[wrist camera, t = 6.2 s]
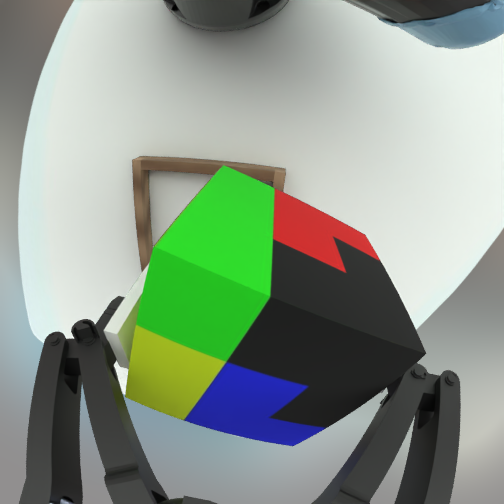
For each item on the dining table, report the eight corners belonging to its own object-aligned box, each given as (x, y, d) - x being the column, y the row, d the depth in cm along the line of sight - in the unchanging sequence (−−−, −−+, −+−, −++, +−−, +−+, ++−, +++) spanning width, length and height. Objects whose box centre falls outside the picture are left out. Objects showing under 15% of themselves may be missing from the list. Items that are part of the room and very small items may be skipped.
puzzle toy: (292, 332, 22) (292, 446, 13) (176, 286, 20) (125, 396, 12) (365, 234, 17) (426, 353, 8) (223, 165, 15) (153, 246, 7)
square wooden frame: (140, 156, 31) (132, 160, 29) (285, 168, 31) (285, 173, 29) (148, 273, 41) (143, 281, 39) (265, 291, 40) (264, 301, 38)
